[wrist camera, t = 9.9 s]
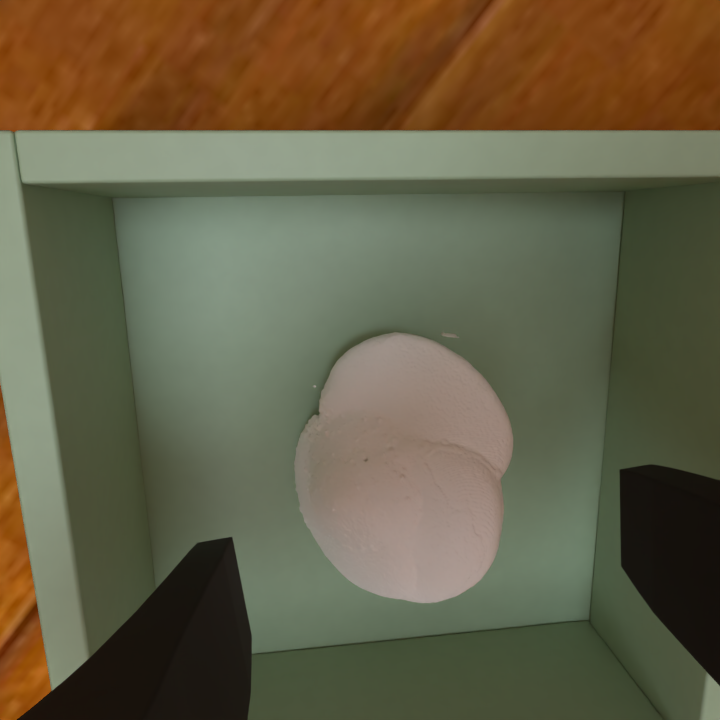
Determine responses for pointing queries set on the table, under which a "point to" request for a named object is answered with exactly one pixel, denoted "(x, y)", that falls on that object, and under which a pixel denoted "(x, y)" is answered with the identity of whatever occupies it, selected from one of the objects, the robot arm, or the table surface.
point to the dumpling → (405, 469)
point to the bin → (313, 365)
